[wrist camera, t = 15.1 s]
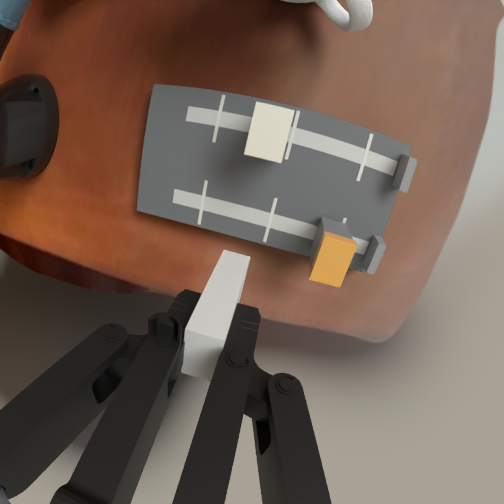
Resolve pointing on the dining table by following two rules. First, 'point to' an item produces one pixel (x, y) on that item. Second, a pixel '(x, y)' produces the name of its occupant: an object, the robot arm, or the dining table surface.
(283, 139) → the fader cream
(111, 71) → the dining table surface
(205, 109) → the console
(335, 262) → the fader orange
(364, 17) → the mug
